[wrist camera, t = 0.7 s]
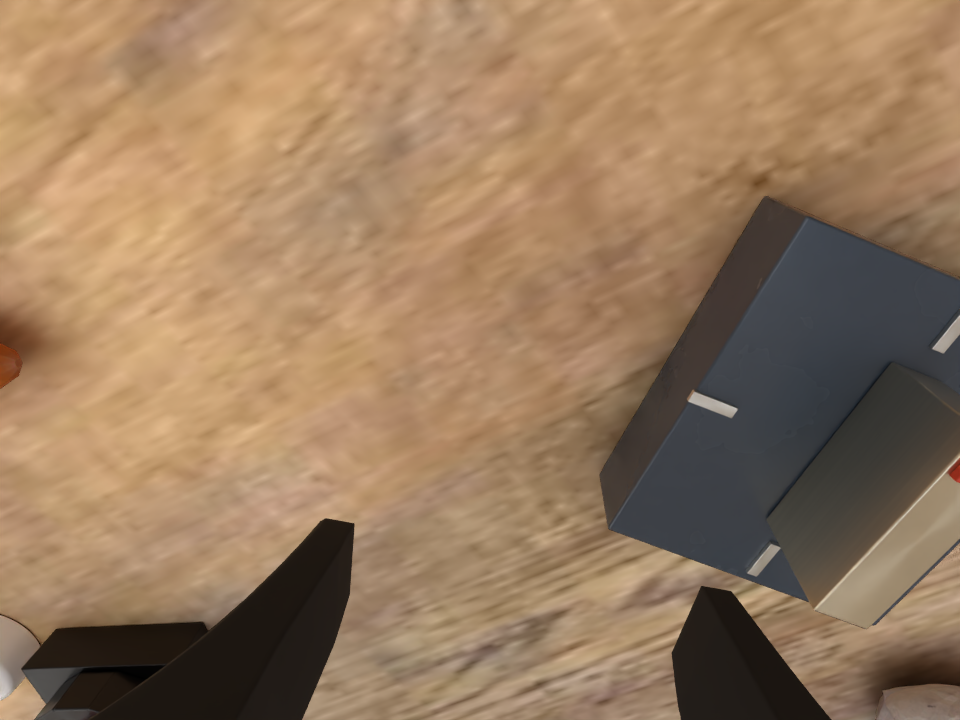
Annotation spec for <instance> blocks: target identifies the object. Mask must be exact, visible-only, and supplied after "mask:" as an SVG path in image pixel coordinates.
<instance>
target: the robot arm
mask: <svg viewBox="0 0 960 720" xmlns="http://www.w3.org/2000/svg"><path fill="white" fill-rule="evenodd" d="M353 539H354V523H349V522H343V521H338V520H332V519H327V518H325V519H324V520H322V521H320V522H319V523H318V525H317V526H316V527H315V528H314V529H313V530H312V532H311V533H310V534H309V535H308V536H307V537H306V538H305V539H304V541H303V542H302V543H301V544H300V545H299V546H298V547H297V548H296V549H295V550H294V551H293V552H292V553H291V554H290V556H289V557H288V558H287V559H286V560H285V561H284V562H283V563H282V564H281V565H280V566H279V567H278V568H277V569H276V570H275V571H274V572H273V573H272V574H271V575H270V576H269V577H268V578H267V579H266V580H265V581H264V582H263V583H262V584H260V585H259V586H258V587H257V588H256V589H255V590H254V591H253V592H252V593H251V594H250V595H249V596H248V597H247V598H246V599H245V600H244V601H243V602H241V603H240V604H239V605H238V606H237V607H236V608H235V609H233V610H232V611H231V612H230V613H229V614H228V615H227V616H226V617H224V618H223V619H222V620H221V621H220V622H219V623H218V624H217V625H215V626H214V627H213V628H212V629H211V630H210V631H208V632H207V633H206V634H205V635H204V636H202V637H201V638H200V639H199V640H197V641H196V642H195V643H194V644H193V645H191V646H190V647H189V648H188V649H186V650H185V651H184V652H182V653H181V654H180V655H179V656H177V657H176V658H175V659H173V660H172V661H171V662H169V663H168V664H167V665H166V666H164V667H163V668H162V669H160V670H159V671H158V672H156V673H155V674H153V675H152V676H151V677H149V678H148V679H146V680H145V681H144V682H142V683H141V684H139V685H138V686H137V687H135V688H134V689H132V690H131V691H129V692H128V693H127V694H125V695H124V696H122V697H121V698H120V699H118V700H117V701H115V702H114V703H112V704H111V705H109V706H108V707H106V708H105V709H103V710H102V711H100V712H99V713H97V714H96V715H94V716H93V717H91V718H89V719H88V720H302V718H303V716H304V714H305V711H306V709H307V707H308V704H309V702H310V700H311V697H312V695H313V693H314V690H315V688H316V686H317V684H318V681H319V679H320V676H321V674H322V672H323V669H324V667H325V665H326V662H327V660H328V658H329V655H330V653H331V651H332V648H333V646H334V643H335V640H336V637H337V634H338V631H339V628H340V624H341V621H342V618H343V615H344V611H345V608H346V605H347V602H348V598H349V595H350V583H351V568H352V553H353ZM672 659H673V669H674V678H675V686H676V693H677V700H678V707H679V712H680V716H681V720H831V719H830V717H829V716H828V715H827V714H826V713H825V711H824V710H823V709H822V708H821V706H820V705H819V704H818V703H817V702H816V700H815V699H814V698H813V697H812V695H811V694H810V693H809V692H808V690H807V689H806V688H805V687H804V685H803V684H802V683H801V682H800V680H799V679H798V678H797V677H796V675H795V674H794V673H793V671H792V670H791V669H790V668H789V666H788V665H787V664H786V662H785V661H784V660H783V659H782V657H781V656H780V655H779V653H778V652H777V651H776V649H775V648H774V647H773V645H772V644H771V643H770V641H769V640H768V639H767V638H766V636H765V635H764V634H763V632H762V631H761V630H760V628H759V627H758V626H757V624H756V623H755V622H754V620H753V619H752V618H751V616H750V615H749V614H748V612H747V611H746V610H745V608H744V607H743V606H742V604H741V603H740V602H739V601H738V599H737V598H736V597H735V595H734V594H733V593H732V592H731V591H727V590H721V589H716V588H710V587H704V586H701V588H700V590H699V593H698V595H697V597H696V599H695V602H694V604H693V606H692V608H691V611H690V613H689V615H688V617H687V620H686V622H685V624H684V626H683V629H682V631H681V633H680V636H679V638H678V640H677V642H676V645H675V647H674V649H673V651H672Z"/></svg>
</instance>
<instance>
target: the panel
mask: <svg viewBox="0 0 960 720" xmlns="http://www.w3.org/2000/svg"><path fill="white" fill-rule="evenodd" d="M891 363H896V364H899V365H901V366H903V367H906V368H908V369H911V370H913V371H916V372H918V373H921V374H923V375H926V376H928V377H931V378H933V379H936V380H938V381H941V382H943V383H944V384H946V385H947V386H948V387H950V388H951V389H952V390H954V391H955V392H956V393H958V394H959V395H960V277H959V276H956V275H954V274H951V273H949V272H947V271H944V270H942V269H940V268H937V267H935V266H932V265H930V264H928V263H925V262H923V261H921V260H918V259H916V258H913V257H911V256H909V255H906V254H904V253H902V252H899V251H897V250H895V249H892V248H890V247H887V246H885V245H883V244H880V243H878V242H876V241H873V240H871V239H868V238H866V237H864V236H861V235H859V234H857V233H854V232H852V231H849V230H847V229H845V228H842V227H840V226H838V225H835V224H833V223H831V222H828V221H826V220H823V219H821V218H819V217H816V216H814V215H812V214H809V213H807V212H804V211H802V210H800V209H797V208H795V207H793V206H790V205H788V204H785V203H783V202H781V201H778V200H776V199H774V198H771V197H769V196H765V197H764V198H763V199H762V201H761V203H760V204H759V206H758V208H757V209H756V211H755V213H754V215H753V216H752V218H751V220H750V221H749V223H748V225H747V226H746V228H745V230H744V231H743V233H742V235H741V236H740V238H739V240H738V242H737V243H736V245H735V247H734V248H733V250H732V252H731V253H730V255H729V257H728V258H727V260H726V262H725V263H724V265H723V267H722V269H721V270H720V272H719V274H718V275H717V277H716V279H715V280H714V282H713V284H712V285H711V287H710V289H709V290H708V292H707V294H706V296H705V297H704V299H703V301H702V302H701V304H700V306H699V307H698V309H697V311H696V312H695V314H694V316H693V317H692V319H691V321H690V323H689V324H688V326H687V328H686V329H685V331H684V333H683V334H682V336H681V338H680V339H679V341H678V343H677V344H676V346H675V348H674V350H673V351H672V353H671V355H670V356H669V358H668V360H667V361H666V363H665V365H664V366H663V368H662V370H661V371H660V373H659V375H658V377H657V378H656V380H655V382H654V383H653V385H652V387H651V388H650V390H649V392H648V393H647V395H646V397H645V398H644V400H643V402H642V404H641V405H640V407H639V409H638V410H637V412H636V414H635V415H634V417H633V419H632V420H631V422H630V424H629V425H628V427H627V429H626V431H625V432H624V434H623V436H622V437H621V439H620V441H619V442H618V444H617V446H616V447H615V449H614V451H613V452H612V454H611V456H610V458H609V459H608V461H607V463H606V464H605V466H604V468H603V469H602V471H601V473H600V482H601V488H602V494H603V500H604V507H605V513H606V519H607V525H608V529H609V530H612V531H615V532H617V533H620V534H623V535H626V536H628V537H631V538H634V539H637V540H639V541H642V542H645V543H648V544H650V545H653V546H656V547H659V548H661V549H664V550H667V551H670V552H672V553H675V554H678V555H681V556H683V557H686V558H689V559H692V560H694V561H697V562H700V563H703V564H705V565H708V566H711V567H714V568H716V569H719V570H722V571H725V572H727V573H730V574H733V575H736V576H738V577H741V578H744V579H747V580H749V581H752V582H755V583H758V584H760V585H763V586H766V587H769V588H771V589H774V590H777V591H780V592H782V593H785V594H788V595H791V596H793V597H796V598H799V599H802V600H804V601H807V602H809V600H808V598H807V596H806V594H805V592H804V591H803V589H802V587H801V585H800V583H799V581H798V579H797V577H796V575H795V574H794V572H793V570H792V568H791V566H790V564H789V562H788V560H787V558H786V556H785V555H784V553H783V551H782V549H781V547H780V545H779V543H778V541H777V539H776V538H775V536H774V534H773V532H772V530H771V528H770V526H769V524H768V522H767V518H768V517H769V516H770V514H771V513H772V512H773V510H774V509H775V508H776V507H777V505H778V504H779V503H780V502H781V500H782V499H783V498H784V497H785V495H786V494H787V493H788V492H789V490H790V489H791V488H792V487H793V485H794V484H795V483H796V482H797V480H798V479H799V478H800V477H801V475H802V474H803V473H804V472H805V470H806V469H807V468H808V467H809V465H810V464H811V463H812V462H813V460H814V459H815V458H816V457H817V455H818V454H819V453H820V452H821V450H822V449H823V448H824V446H825V445H826V444H827V443H828V441H829V440H830V439H831V438H832V436H833V435H834V434H835V433H836V431H837V430H838V429H839V428H840V426H841V425H842V424H843V423H844V421H845V420H846V419H847V418H848V416H849V415H850V414H851V413H852V411H853V410H854V409H855V408H856V406H857V405H858V404H859V403H860V401H861V400H862V399H863V398H864V396H865V395H866V394H867V393H868V391H869V390H870V389H871V388H872V386H873V385H874V384H875V382H876V381H877V380H878V379H879V377H880V376H881V375H882V374H883V372H884V371H885V370H886V369H887V367H888V366H889V365H890V364H891ZM959 543H960V539H959V540H958V541H957V542H956V543H955V544H954V545H953V546H952V547H951V548H950V549H949V550H948V551H947V552H946V553H945V554H944V555H943V556H942V557H941V558H940V559H939V560H938V561H937V562H936V563H935V564H934V565H933V566H931V567H930V568H929V569H928V570H927V571H926V572H925V573H924V574H923V575H922V576H921V577H920V578H919V579H918V580H917V581H916V582H915V583H914V584H913V585H912V586H911V587H910V588H909V589H908V590H907V591H906V592H905V593H904V594H903V595H902V596H901V597H900V598H899V599H898V600H897V601H896V602H895V603H894V604H893V605H892V606H891V607H890V608H889V609H888V610H887V611H886V612H884V613H883V614H882V615H881V616H880V617H879V618H878V619H877V620H876V621H875V622H874V623H873V624H872V625H876V624H877V623H878V622H879V621H880V620H881V619H882V618H883V617H884V616H885V615H886V614H887V613H888V612H889V611H890V610H891V609H892V608H893V607H894V606H895V605H896V604H898V603H899V602H900V601H901V600H902V599H903V598H904V597H905V596H906V595H907V594H908V593H909V592H910V591H911V590H912V589H913V588H914V587H915V586H916V585H917V584H918V583H919V582H920V581H921V580H922V579H923V578H924V577H925V576H926V575H927V574H928V573H929V572H930V571H931V570H932V569H933V568H934V567H935V566H937V565H938V564H939V563H940V562H941V561H942V560H943V559H944V558H945V557H946V556H947V555H948V554H949V553H950V552H951V551H952V550H953V549H954V548H955V547H956V546H957V545H958V544H959Z"/></svg>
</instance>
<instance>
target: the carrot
mask: <svg viewBox="0 0 960 720" xmlns="http://www.w3.org/2000/svg"><path fill="white" fill-rule="evenodd" d="M21 367H22V361H21V359H20V357H19V355H18V353H17V352H16V351H15V350H13V349H11V348H9V347H7V346H5V345H3V344H1V343H0V389H1V388H2V387H4V386H5V385H6V384H8V383H9V382H11V381H12V380H13V379H15V378H16V377H18V376H19V373H20V370H21Z"/></svg>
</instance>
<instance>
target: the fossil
mask: <svg viewBox="0 0 960 720" xmlns="http://www.w3.org/2000/svg"><path fill="white" fill-rule="evenodd" d="M882 692H883V695H882V697H881V698H880V699H879V704H878V707H877V710H876V719H875V720H960V686H954V685H944V684H926V685H916V686H905V687H896V688H892V689H889V690H883V691H882Z"/></svg>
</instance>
